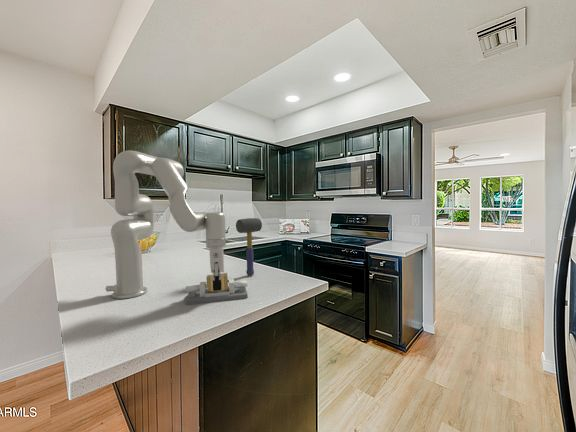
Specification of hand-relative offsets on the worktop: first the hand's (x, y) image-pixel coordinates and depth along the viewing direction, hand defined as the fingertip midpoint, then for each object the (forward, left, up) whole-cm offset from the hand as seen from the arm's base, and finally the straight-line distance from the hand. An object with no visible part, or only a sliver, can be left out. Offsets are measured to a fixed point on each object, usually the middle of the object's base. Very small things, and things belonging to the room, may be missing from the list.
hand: (217, 287), depth 103 cm
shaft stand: (0, 0, -4) cm, 4 cm away
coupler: (0, 0, -1) cm, 1 cm away
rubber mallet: (+16, +27, -4) cm, 32 cm away
